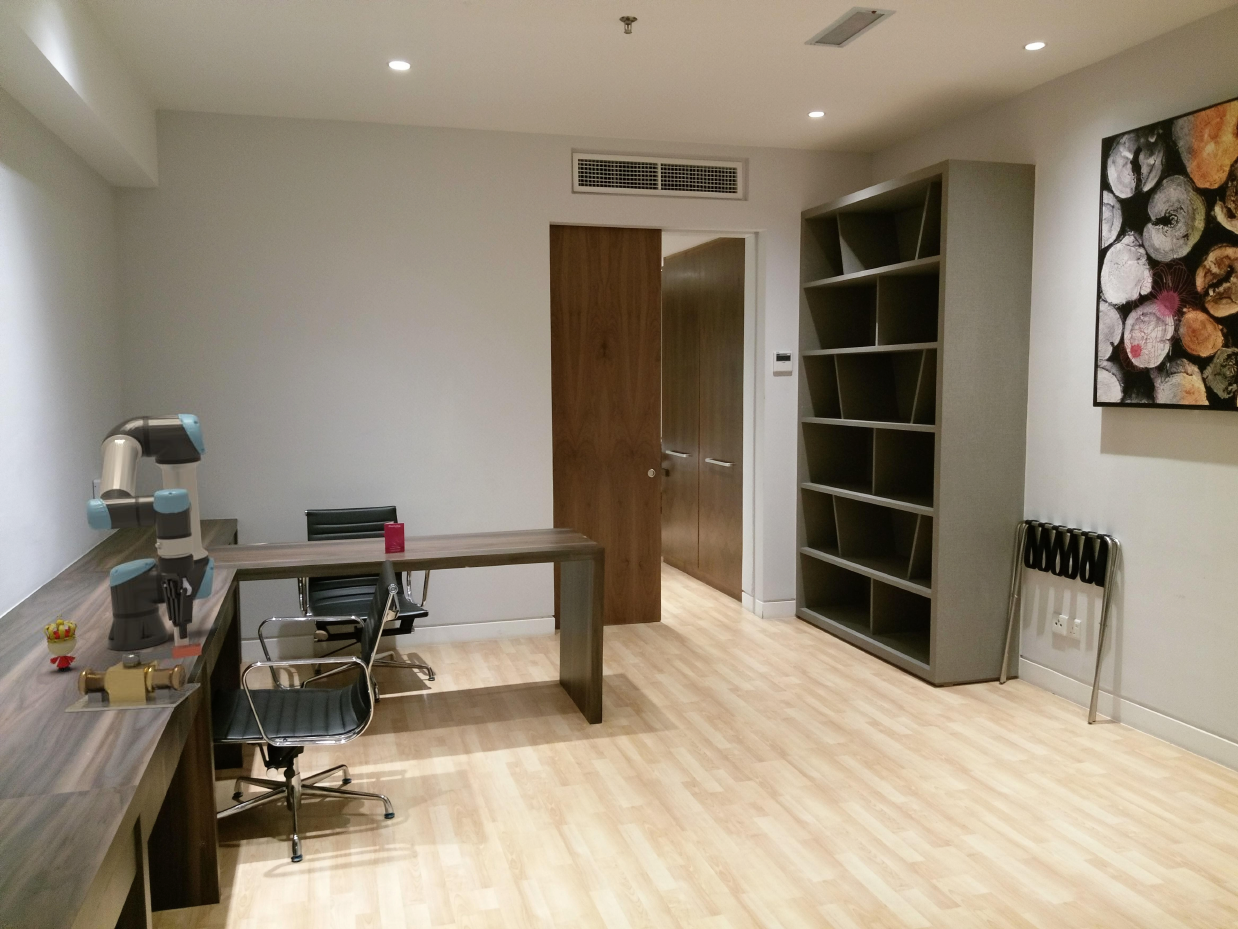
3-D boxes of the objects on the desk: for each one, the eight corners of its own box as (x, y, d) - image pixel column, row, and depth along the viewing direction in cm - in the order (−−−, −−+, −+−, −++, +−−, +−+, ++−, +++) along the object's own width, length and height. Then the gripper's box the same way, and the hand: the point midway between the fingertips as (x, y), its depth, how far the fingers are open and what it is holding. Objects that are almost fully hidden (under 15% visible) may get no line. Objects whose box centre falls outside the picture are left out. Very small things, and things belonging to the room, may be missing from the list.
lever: (121, 667, 202) (121, 657, 201) (123, 662, 205) (122, 652, 205) (201, 656, 209) (200, 646, 208) (201, 651, 212) (200, 642, 212)
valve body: (65, 712, 197) (62, 677, 197) (97, 690, 211) (95, 658, 211) (175, 706, 199) (172, 672, 198) (200, 685, 213) (197, 653, 212)
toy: (85, 665, 231) (80, 609, 230) (73, 674, 224) (68, 616, 223) (55, 667, 230) (50, 611, 229) (42, 676, 223) (37, 618, 222)
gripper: (147, 554, 210) (154, 650, 212) (170, 560, 202) (178, 660, 204) (179, 548, 215) (186, 642, 218) (203, 555, 207) (210, 652, 210)
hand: (182, 651), depth 211 cm, fingers closed
